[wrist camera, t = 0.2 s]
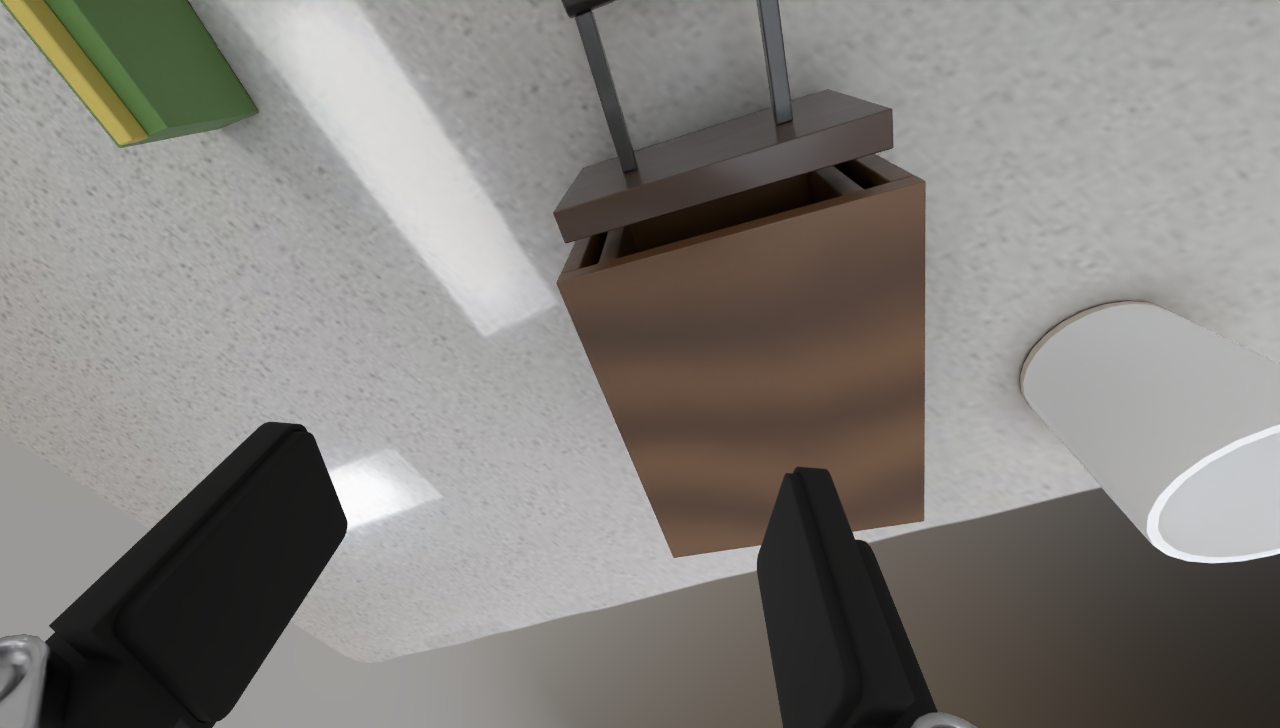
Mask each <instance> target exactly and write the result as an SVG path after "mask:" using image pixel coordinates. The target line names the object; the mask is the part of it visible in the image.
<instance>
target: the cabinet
mask: <svg viewBox="0 0 1280 728" xmlns="http://www.w3.org/2000/svg"><path fill="white" fill-rule="evenodd" d="M833 166H834V167H835V168H837V169H838V170H839V171H841V172H842V173H843V174H845V175H846V176H847V177H849V178H850V179H851V180H853V181H854V182H855V183H857V184H858V185H859V186H861V187H862V188H863V189H865V190H861V191H858V192H854V193H850V194H847V195H843V196H840V197H836V198H832V199H829V200H825V201H822V202H818V203H815V204H811V205H807V206H804V207H800V208H797V209H793V210H789V211H786V212H782V213H779V214H775V215H771V216H768V217H764V218H761V219H757V220H753V221H750V222H746V223H743V224H739V225H736V226H732V227H728V228H725V229H721V230H718V231H714V232H710V233H707V234H703V235H700V236H696V237H692V238H689V239H685V240H682V241H678V242H674V243H671V244H667V245H664V246H660V247H657V248H653V249H649V250H646V251H642V252H639V253H635V254H631V255H628V256H624V257H621V258H617V259H613V260H610V261H606V262H603V263H599V260H600V257H601V253H602V250H603V247H604V244H605V241H606V237H607V234H608V231H607V232H603V233H600V234H597V235H593V236H590V237H586V238H583V239H579V240H576V242H575V244H574V246H573V248H572V251H571V253H570V255H569V257H568V259H567V261H566V264H565V266H564V268H563V270H562V272H561V274H560V276H559V278H558V280H557V282H556V284H557V286H558V288H559V291H560V293H561V295H562V298H563V300H564V302H565V305H566V307H567V309H568V312H569V314H570V316H571V319H572V321H573V323H574V326H575V328H576V330H577V333H578V335H579V337H580V340H581V342H582V344H583V347H584V349H585V351H586V354H587V356H588V358H589V361H590V363H591V365H592V368H593V370H594V372H595V375H596V377H597V379H598V382H599V384H600V387H601V389H602V391H603V394H604V396H605V398H606V401H607V403H608V405H609V408H610V410H611V412H612V415H613V417H614V419H615V422H616V424H617V426H618V429H619V431H620V433H621V436H622V438H623V440H624V443H625V445H626V447H627V450H628V452H629V454H630V457H631V459H632V461H633V464H634V466H635V468H636V471H637V473H638V475H639V478H640V480H641V482H642V485H643V487H644V490H645V492H646V494H647V497H648V499H649V501H650V504H651V506H652V508H653V511H654V513H655V515H656V518H657V520H658V522H659V525H660V527H661V529H662V532H663V534H664V536H665V539H666V541H667V543H668V546H669V548H670V550H671V553H672V555H673V557H674V558H676V557H683V556H689V555H696V554H703V553H710V552H717V551H723V550H730V549H737V548H744V547H751V546H758V545H762V542H763V539H764V536H765V533H766V530H767V527H768V524H769V520H770V517H771V514H772V511H773V508H774V505H775V502H776V499H777V496H778V493H779V490H780V487H781V484H782V481H783V478H784V475H785V474H786V473H793V471H794V469H795V468H796V467H810V468H822V469H827V470H828V471H829V473H830V475H831V477H832V480H833V482H834V485H835V488H836V490H837V493H838V496H839V498H840V501H841V504H842V506H843V509H844V512H845V514H846V517H847V520H848V522H849V525H850V528H851V530H852V532H853V531H860V530H867V529H873V528H880V527H887V526H894V525H901V524H907V523H914V522H921V521H924V422H925V181H924V180H922V179H921V178H919V177H917V176H914V175H912V174H911V173H909V172H907V171H905V170H903V169H902V168H900V167H898V166H896V165H894V164H892V163H891V162H889V161H887V160H885V159H883V158H881V157H880V156H878V155H876V154H871V155H868V156H864V157H861V158H857V159H854V160H851V161H847V162H844V163H840V164H837V165H833ZM598 263H599V264H598Z"/></svg>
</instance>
